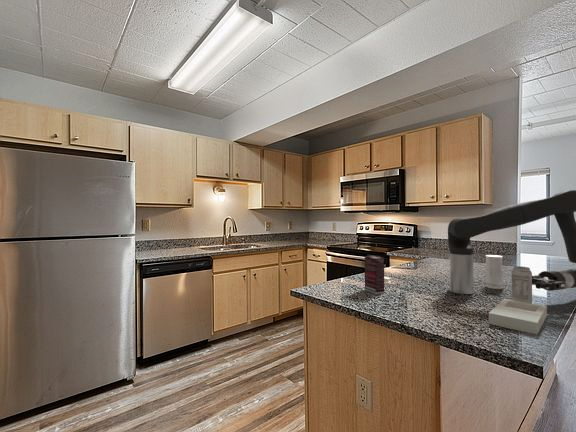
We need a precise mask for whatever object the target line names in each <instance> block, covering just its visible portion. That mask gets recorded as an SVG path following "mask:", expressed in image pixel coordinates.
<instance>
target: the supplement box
mask: <svg viewBox="0 0 576 432" xmlns="http://www.w3.org/2000/svg"><path fill="white" fill-rule="evenodd" d="M364 290H365V291H367V292H369V293H373V294H375V295H380V294H381V295H382V294H385V257H380V256H375V255H365V256H364Z"/></svg>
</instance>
